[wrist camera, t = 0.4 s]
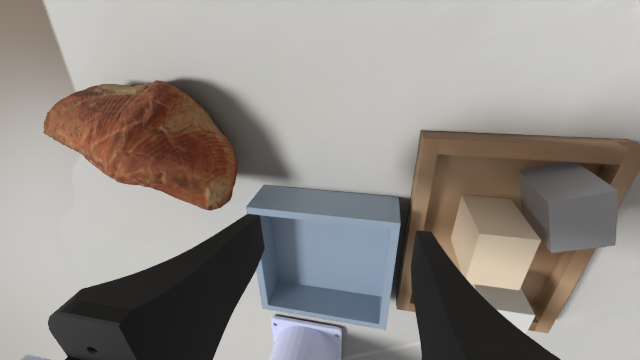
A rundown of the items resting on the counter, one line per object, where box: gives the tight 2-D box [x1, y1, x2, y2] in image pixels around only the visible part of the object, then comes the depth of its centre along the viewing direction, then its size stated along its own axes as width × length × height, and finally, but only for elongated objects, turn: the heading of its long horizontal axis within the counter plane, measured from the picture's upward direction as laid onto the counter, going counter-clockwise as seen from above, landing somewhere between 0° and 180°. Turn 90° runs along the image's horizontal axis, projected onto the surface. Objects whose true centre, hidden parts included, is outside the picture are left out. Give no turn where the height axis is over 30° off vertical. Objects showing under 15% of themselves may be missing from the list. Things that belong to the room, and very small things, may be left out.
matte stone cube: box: [518, 162, 618, 253], centre depth 17 cm, size 4×3×4 cm
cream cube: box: [451, 195, 541, 290], centre depth 19 cm, size 4×3×4 cm
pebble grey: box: [471, 284, 535, 334], centre depth 22 cm, size 4×3×4 cm
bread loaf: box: [44, 81, 237, 210], centre depth 21 cm, size 13×8×10 cm
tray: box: [396, 130, 640, 333], centre depth 21 cm, size 16×12×2 cm
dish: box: [246, 185, 401, 330], centre depth 24 cm, size 11×11×4 cm
